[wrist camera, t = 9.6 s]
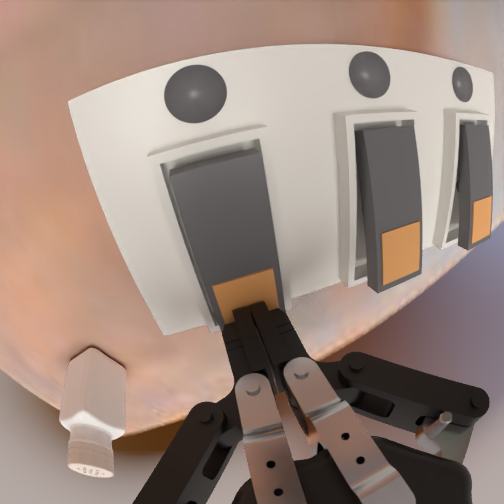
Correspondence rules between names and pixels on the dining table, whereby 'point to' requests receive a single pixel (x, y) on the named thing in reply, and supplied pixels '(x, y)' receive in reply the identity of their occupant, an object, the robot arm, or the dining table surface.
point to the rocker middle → (390, 204)
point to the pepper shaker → (93, 411)
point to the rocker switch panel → (272, 155)
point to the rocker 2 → (474, 185)
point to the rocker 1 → (230, 231)
